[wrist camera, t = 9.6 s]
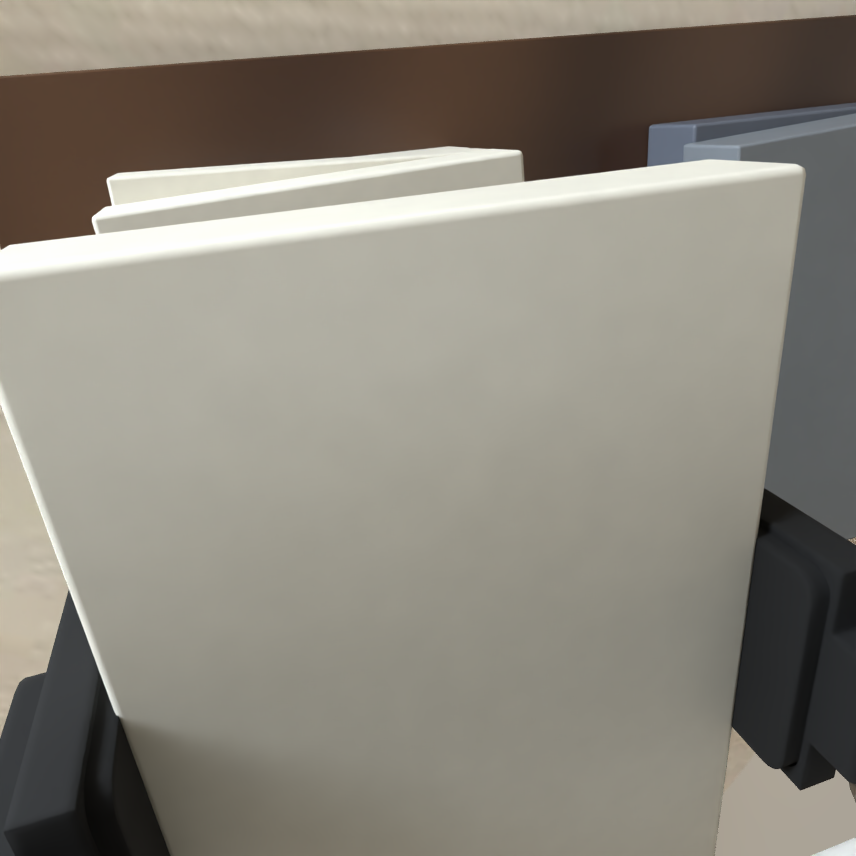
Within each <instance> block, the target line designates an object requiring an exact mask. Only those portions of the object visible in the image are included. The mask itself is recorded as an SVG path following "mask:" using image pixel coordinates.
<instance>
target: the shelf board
mask: <svg viewBox="0 0 856 856" xmlns="http://www.w3.org/2000/svg"><path fill="white" fill-rule="evenodd" d="M846 103H856V15H849V16H835V17H821V18H807V19H793V20H779V21H765V22H751V23H737V24H723V25H709V26H695V27H681V28H667V29H653V30H639V31H625V32H611V33H598V34H584V35H570V36H556V37H542V38H528V39H514V40H500V41H486V42H472V43H458V44H444V45H430V46H416V47H402V48H388V49H374V50H360V51H346V52H333V53H319V54H305V55H291V56H277V57H263V58H249V59H235V60H221V61H207V62H193V63H179V64H165V65H151V66H137V67H123V68H109V69H95V70H81V71H68V72H54V73H40V74H26V75H12V76H0V248H1V250H2V249H4V248H6V247H7V246H9V245H14V244H23V243H31V242H39V241H47V240H55V239H63V238H71V237H80V236H88V235H96V233H95V230H94V226H93V223H92V217H93V216H94V215H96V214H97V213H98V212H99V211H101V210H102V209H103V208H105V207H108V206H112V203H111V198H110V194H109V189H108V185H107V178H109V177H111V176H113V175H115V174H117V173H125V172H140V171H154V170H168V169H183V168H197V167H212V166H226V165H241V164H255V163H269V162H284V161H298V160H313V159H327V158H342V157H354V156H364V155H373V154H382V153H392V152H401V151H410V150H419V149H429V148H438V147H447V146H451V147H468V148H470V149H471V148H479V149H505V150H519V151H521V152H522V154H523V166H524V182H528V181H536V180H545V179H553V178H561V177H569V176H577V175H585V174H594V173H602V172H610V171H618V170H626V169H634V168H643V167H647V161H648V138H649V127H650V126H651V125H652V124H661V123H670V122H679V121H688V120H698V119H707V118H716V117H726V116H735V115H744V114H753V113H763V112H772V111H781V110H791V109H800V108H809V107H818V106H828V105H837V104H846Z"/></svg>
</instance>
